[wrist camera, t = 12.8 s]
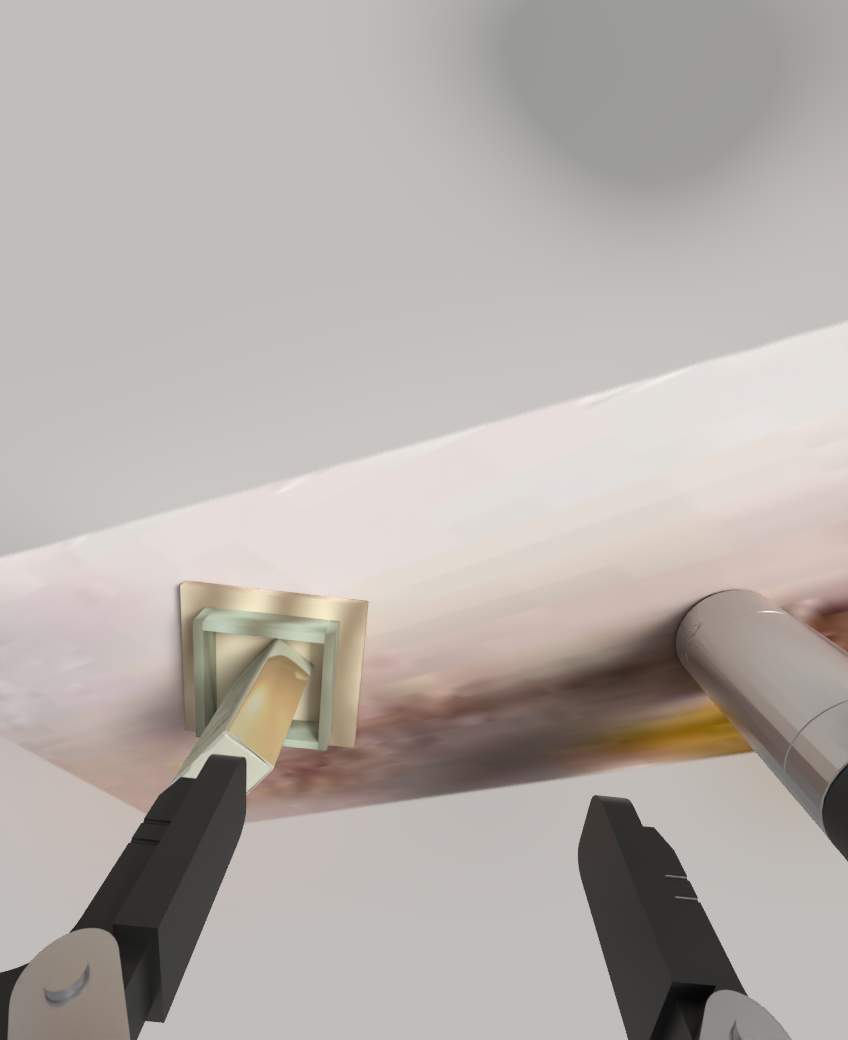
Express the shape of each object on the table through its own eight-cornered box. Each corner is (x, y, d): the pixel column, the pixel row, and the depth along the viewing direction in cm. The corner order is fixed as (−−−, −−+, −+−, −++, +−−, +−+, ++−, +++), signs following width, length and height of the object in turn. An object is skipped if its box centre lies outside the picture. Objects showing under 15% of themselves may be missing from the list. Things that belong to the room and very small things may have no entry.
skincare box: (272, 706, 45) (217, 824, 34) (235, 678, 44) (165, 788, 33) (317, 663, 44) (276, 770, 32) (279, 633, 43) (223, 732, 31)
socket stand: (368, 601, 43) (362, 620, 40) (355, 740, 47) (349, 768, 44) (185, 580, 43) (164, 598, 39) (190, 722, 47) (171, 749, 44)
